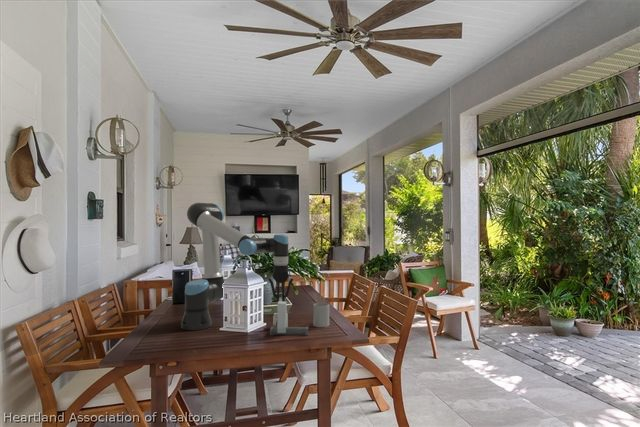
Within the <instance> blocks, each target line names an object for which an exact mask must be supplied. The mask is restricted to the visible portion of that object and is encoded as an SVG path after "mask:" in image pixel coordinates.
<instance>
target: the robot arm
mask: <svg viewBox="0 0 640 427" xmlns="http://www.w3.org/2000/svg"><path fill="white" fill-rule="evenodd" d="M186 217H187V220H188V221H189V222H190V223H191V224H192V225H194V226H196V227H198V229H199V230H200V231H201V236H202V237H201V239H202V254H203V255H202V256H203V270H204V271H203V272H204V274H203V275H202V277H201V278H200V279H194V280H191V281H188V282H187V283H186V284H185V286H184V288H185V289H184V313H183V317H182V319H181V322H180V329H182V330H185V331H201V330H205V329H208V328H211V326H212V323H213V322H212V318H211V315H210V312H209V303H213V302H215V301H216V302H217V301H220V300H221V299H223V298H224V297H223V288H222V284H223V283H224V281H225V280H226V279H225V278H224V274H222V273H221V260H220V244H219V243H220V242H219V238H220V239H222V240H224V241H225V242H226V243H229V244H231V245H232V246H234V247H236V248H237V249H238V250H239V252H240V253H241V254H242V255H246V256H251V255H255V254H261V253H272V254H273V274H272V276H271V277H268V282H269V283H270V287H271V292H272V296H273V298H276V304H277V303H278V302H286V300H285V298H288V297H289V293H290V289H291V284H292V282H293V281H294V277H291V276H290V273H289V265H288V264H289V236H288V235H287V234H282V233H279V234H274V235H273V237H271V238H270V237H255V238H252V237H250V236H249V235H247V234H245V233H243V232H242V231H240V230H237V229H236V228H234V227H233V226H231V225H229V224H227V223H226V222H224V221H223V220H224V219H225V213H224V210H223V208H222V207H221V205H219V204H217V203H213V202H212V203H210V202H209V203H207V202H195V203H193V204H191V205H190V206H189V207H188V209H187V212H186ZM274 281H275V282H276V289H275V285H274V284H275V283H274ZM287 281H288V284H287V289H286V290H285V288H286V287H285V286H286V282H287ZM280 284H281V287H280ZM280 288H281V290H280ZM280 293H281V294H280ZM280 296H281V297H280Z"/></svg>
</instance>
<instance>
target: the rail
mask: <svg viewBox="0 0 640 427" xmlns="http://www.w3.org/2000/svg"><path fill="white" fill-rule="evenodd" d="M274 335H275V336H276V335H279V336H280V335H282V336H283V335H285V336H286V335H288V336H289V335H292V336H293V335H295V336H296V335H301V336H302V335H305V336H309V326H308V325H307V326H300V327H299V326H294V327H293V326H288V327H286V333H277V327H273V326H270V329H269V336H274Z"/></svg>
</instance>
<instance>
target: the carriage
mask: <svg viewBox="0 0 640 427" xmlns="http://www.w3.org/2000/svg"><path fill="white" fill-rule="evenodd" d="M276 304H277V305H276V306H277V309H276V310H277V311H276V313H277V333H286V313H287V301H285V302H278V303H277V302H276Z"/></svg>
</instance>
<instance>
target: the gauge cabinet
mask: <svg viewBox="0 0 640 427" xmlns="http://www.w3.org/2000/svg"><path fill="white" fill-rule="evenodd" d="M288 315H289V314H288V312H286V327H289V325H288V324H289V323H288V322H289V317H288ZM272 320H273V321H272V327H277V312H275V313H273V316H272Z"/></svg>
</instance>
